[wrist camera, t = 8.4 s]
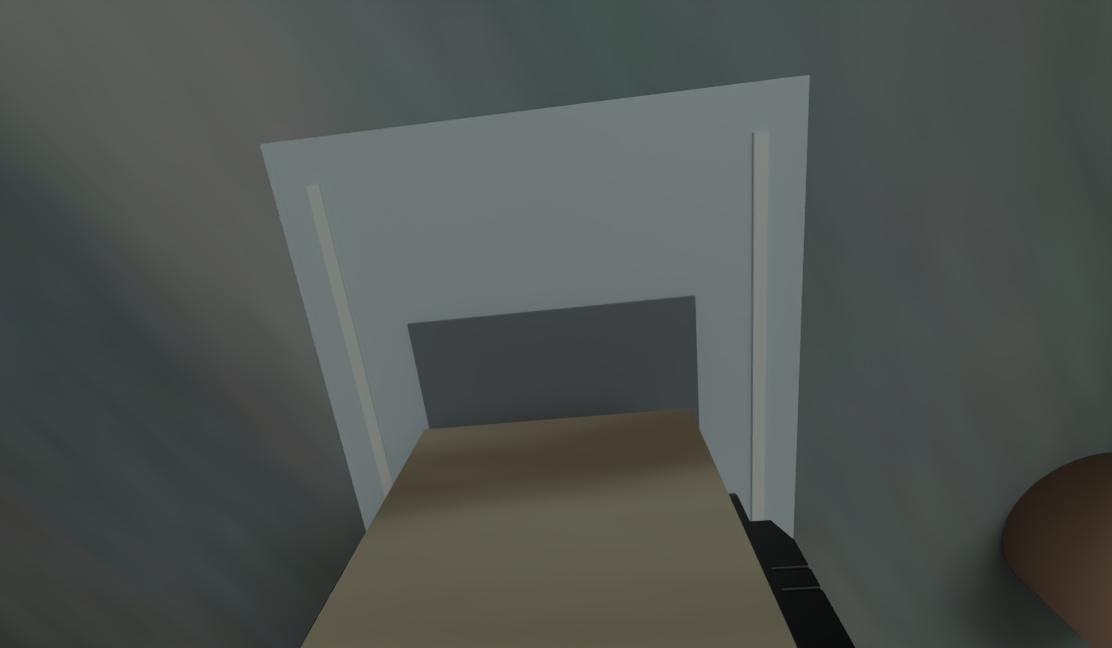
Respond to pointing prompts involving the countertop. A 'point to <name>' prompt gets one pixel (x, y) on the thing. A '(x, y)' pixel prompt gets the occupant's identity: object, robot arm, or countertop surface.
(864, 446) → the countertop surface
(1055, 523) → the terracotta cylinder
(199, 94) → the countertop surface
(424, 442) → the birch cube
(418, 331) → the base
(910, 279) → the countertop surface
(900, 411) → the countertop surface
